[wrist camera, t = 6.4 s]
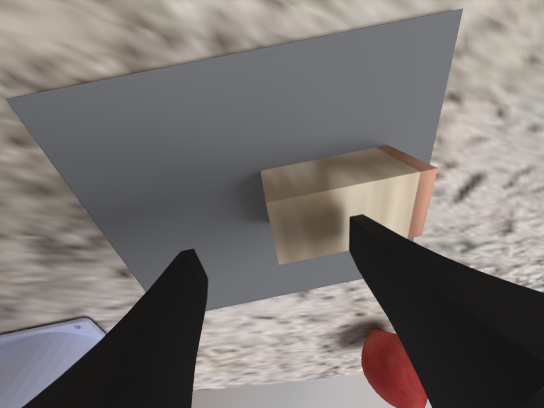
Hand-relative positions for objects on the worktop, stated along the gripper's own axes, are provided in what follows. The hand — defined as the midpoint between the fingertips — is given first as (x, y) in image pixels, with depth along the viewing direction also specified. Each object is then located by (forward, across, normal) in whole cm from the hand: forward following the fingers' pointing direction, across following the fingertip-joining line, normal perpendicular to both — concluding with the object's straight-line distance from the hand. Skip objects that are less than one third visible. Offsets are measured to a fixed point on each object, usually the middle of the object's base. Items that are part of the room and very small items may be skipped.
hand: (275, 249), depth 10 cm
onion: (+6, -9, +20) cm, 23 cm away
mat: (+5, 0, +1) cm, 5 cm away
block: (+3, 0, 0) cm, 3 cm away
